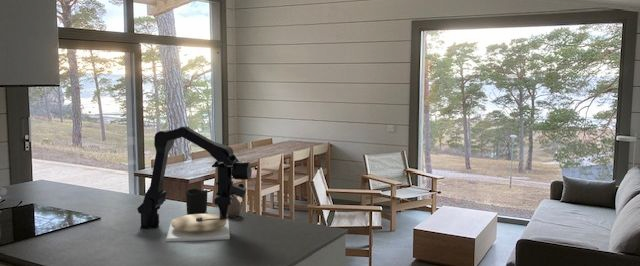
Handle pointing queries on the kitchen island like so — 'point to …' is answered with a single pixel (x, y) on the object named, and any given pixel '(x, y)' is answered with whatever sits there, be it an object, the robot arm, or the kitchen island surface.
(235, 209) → the vase
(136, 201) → the kitchen island surface
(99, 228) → the kitchen island surface
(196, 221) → the handwheel
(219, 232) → the base plate
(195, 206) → the pen holder
